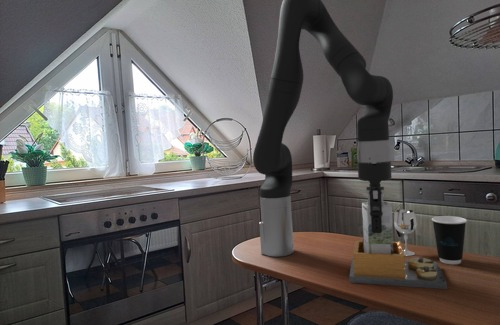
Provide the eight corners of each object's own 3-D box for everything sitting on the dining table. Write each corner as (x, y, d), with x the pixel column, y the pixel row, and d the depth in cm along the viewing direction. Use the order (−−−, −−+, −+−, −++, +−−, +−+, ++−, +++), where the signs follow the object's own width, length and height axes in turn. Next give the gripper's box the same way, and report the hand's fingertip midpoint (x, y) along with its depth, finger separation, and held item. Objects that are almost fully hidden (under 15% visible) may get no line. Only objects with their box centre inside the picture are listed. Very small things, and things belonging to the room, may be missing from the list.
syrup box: (387, 257, 88) (384, 200, 88) (394, 266, 83) (392, 204, 82) (363, 258, 89) (361, 201, 88) (369, 266, 83) (366, 205, 82)
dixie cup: (444, 267, 87) (442, 223, 87) (426, 257, 95) (425, 216, 95) (475, 265, 88) (474, 221, 87) (455, 255, 96) (454, 214, 95)
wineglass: (416, 257, 96) (414, 213, 95) (393, 255, 99) (391, 212, 98) (418, 251, 100) (417, 209, 100) (397, 249, 103) (395, 208, 103)
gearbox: (349, 282, 82) (348, 254, 82) (352, 263, 94) (351, 239, 94) (447, 289, 75) (446, 259, 75) (436, 267, 88) (435, 241, 87)
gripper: (358, 158, 92) (361, 221, 93) (356, 162, 79) (359, 236, 80) (389, 157, 90) (391, 222, 91) (392, 161, 76) (395, 237, 77)
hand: (376, 228), depth 85 cm, fingers closed on syrup box, 6 cm apart
